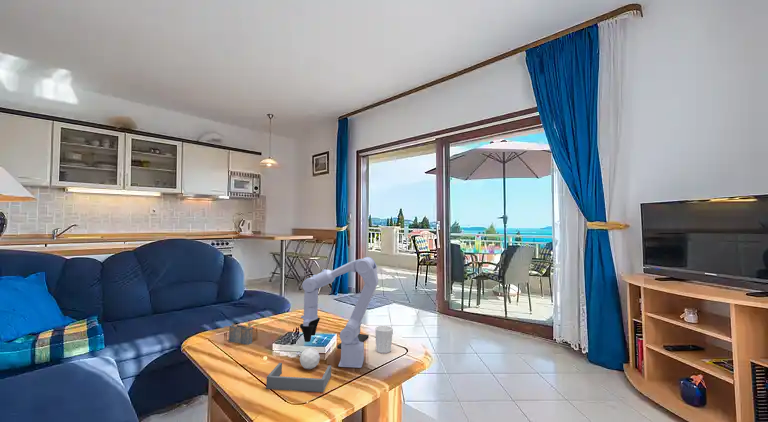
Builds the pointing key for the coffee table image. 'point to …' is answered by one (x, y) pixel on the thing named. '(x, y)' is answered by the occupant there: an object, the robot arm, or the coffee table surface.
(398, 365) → the coffee table surface
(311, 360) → the geometric ball
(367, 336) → the smart home device
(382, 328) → the white cup
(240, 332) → the ruin model on sheet
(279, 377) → the box
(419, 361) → the coffee table surface
